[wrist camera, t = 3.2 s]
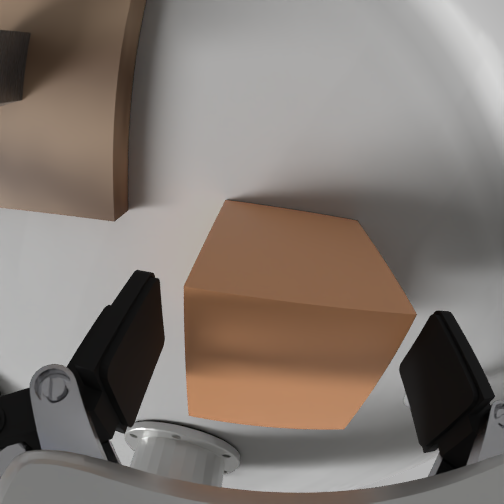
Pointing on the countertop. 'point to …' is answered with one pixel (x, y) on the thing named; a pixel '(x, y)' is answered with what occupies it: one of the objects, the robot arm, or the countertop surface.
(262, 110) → the countertop surface
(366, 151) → the countertop surface
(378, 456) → the countertop surface
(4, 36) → the metal post
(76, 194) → the walnut board
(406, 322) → the peach colored cube
